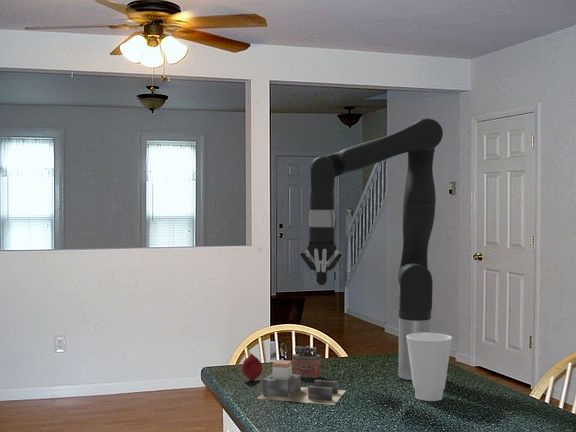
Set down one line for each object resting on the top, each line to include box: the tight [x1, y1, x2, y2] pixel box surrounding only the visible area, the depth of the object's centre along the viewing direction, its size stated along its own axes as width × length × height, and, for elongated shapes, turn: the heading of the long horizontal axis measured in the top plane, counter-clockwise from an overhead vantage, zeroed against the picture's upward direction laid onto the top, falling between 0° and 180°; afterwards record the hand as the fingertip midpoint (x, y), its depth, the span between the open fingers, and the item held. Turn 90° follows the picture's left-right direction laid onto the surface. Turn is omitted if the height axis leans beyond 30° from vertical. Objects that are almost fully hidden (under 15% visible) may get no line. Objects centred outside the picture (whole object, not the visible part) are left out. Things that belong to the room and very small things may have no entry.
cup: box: [406, 332, 453, 402], centre depth 185 cm, size 12×12×16 cm
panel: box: [256, 372, 347, 406], centre depth 182 cm, size 20×14×6 cm
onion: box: [241, 352, 263, 382], centre depth 202 cm, size 6×6×8 cm
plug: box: [272, 359, 293, 381], centre depth 184 cm, size 4×4×8 cm
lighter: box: [291, 345, 322, 379], centre depth 202 cm, size 8×3×10 cm, turn 84°
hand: (321, 284), depth 206 cm, fingers closed
